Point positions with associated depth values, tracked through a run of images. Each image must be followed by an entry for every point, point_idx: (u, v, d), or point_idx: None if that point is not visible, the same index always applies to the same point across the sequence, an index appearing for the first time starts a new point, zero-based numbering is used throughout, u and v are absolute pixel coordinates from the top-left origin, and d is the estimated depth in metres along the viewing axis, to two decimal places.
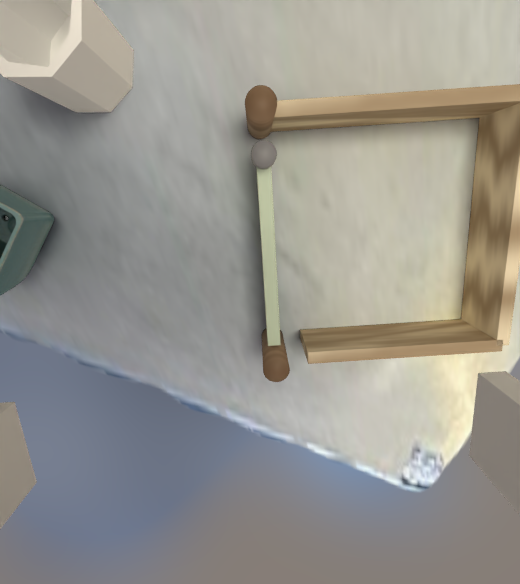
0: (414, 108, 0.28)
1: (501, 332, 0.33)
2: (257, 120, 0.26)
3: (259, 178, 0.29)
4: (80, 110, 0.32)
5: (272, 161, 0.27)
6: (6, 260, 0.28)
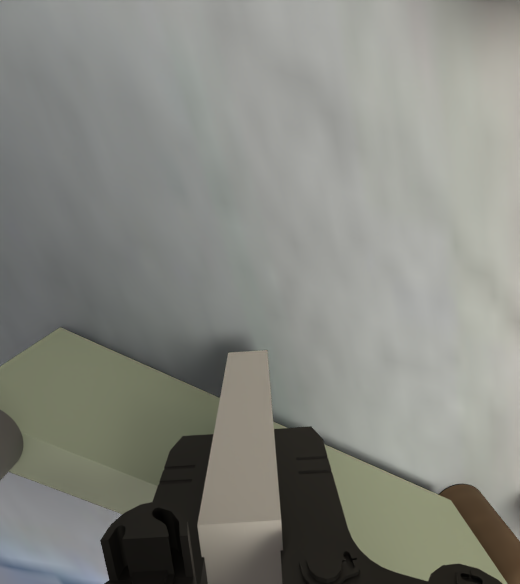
0: None
1: None
2: None
3: (43, 479, 0.09)
4: None
5: None
6: None
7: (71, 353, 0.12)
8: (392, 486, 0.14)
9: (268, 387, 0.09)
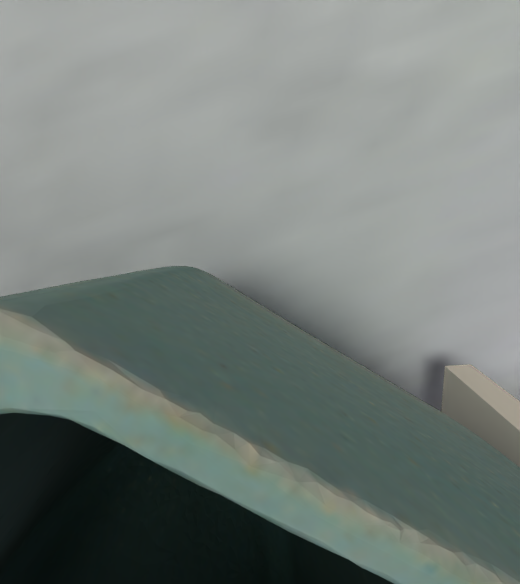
0: None
1: None
2: None
3: None
4: None
5: None
6: None
7: None
8: None
9: None
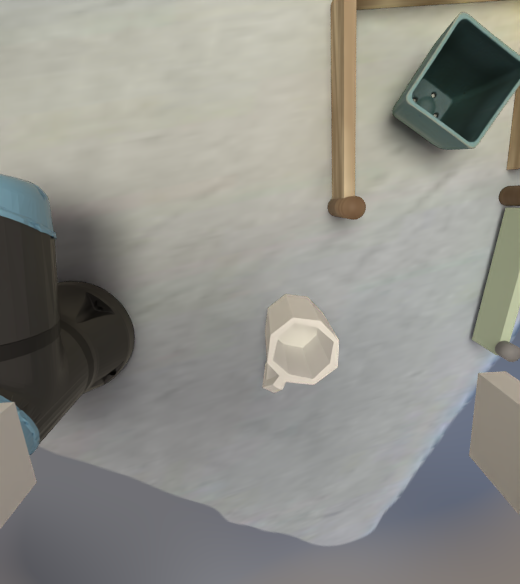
0: None
1: None
2: (364, 210, 0.37)
3: (509, 335, 0.43)
4: None
5: (509, 349, 0.41)
6: (495, 38, 0.32)
7: (479, 335, 0.47)
8: (503, 236, 0.44)
9: None
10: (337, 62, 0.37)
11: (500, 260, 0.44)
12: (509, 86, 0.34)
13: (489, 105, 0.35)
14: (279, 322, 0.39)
